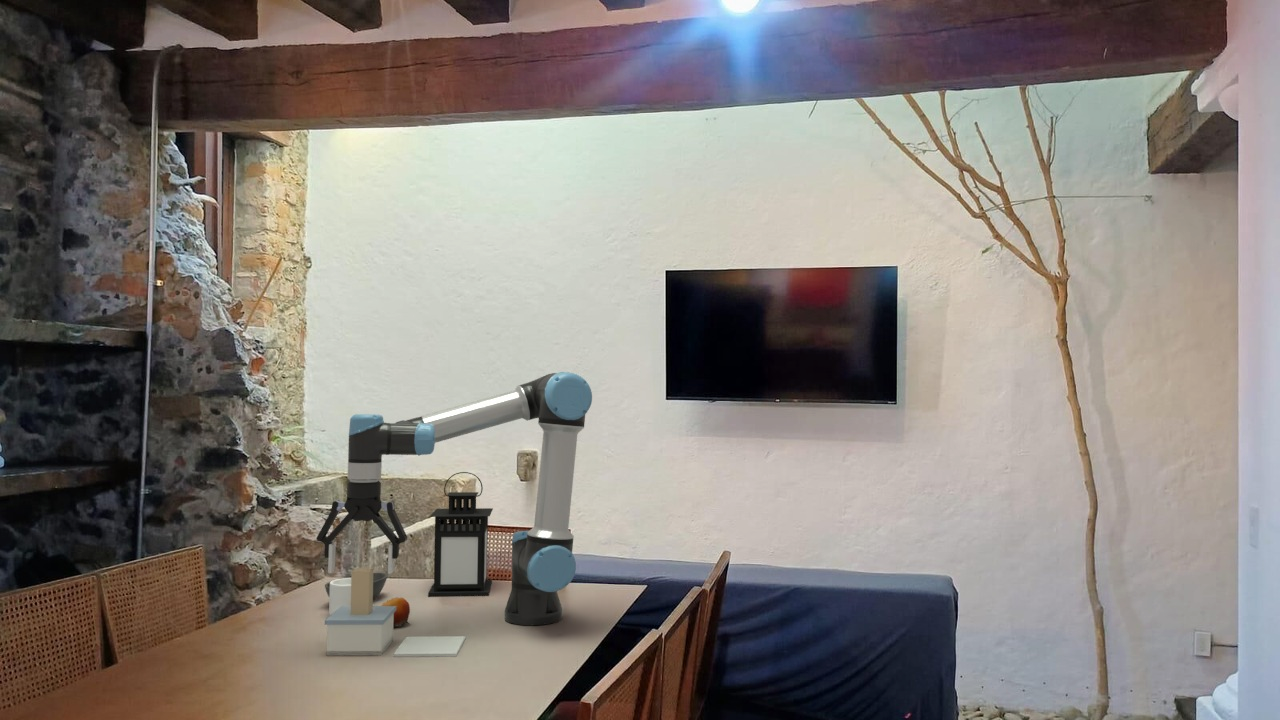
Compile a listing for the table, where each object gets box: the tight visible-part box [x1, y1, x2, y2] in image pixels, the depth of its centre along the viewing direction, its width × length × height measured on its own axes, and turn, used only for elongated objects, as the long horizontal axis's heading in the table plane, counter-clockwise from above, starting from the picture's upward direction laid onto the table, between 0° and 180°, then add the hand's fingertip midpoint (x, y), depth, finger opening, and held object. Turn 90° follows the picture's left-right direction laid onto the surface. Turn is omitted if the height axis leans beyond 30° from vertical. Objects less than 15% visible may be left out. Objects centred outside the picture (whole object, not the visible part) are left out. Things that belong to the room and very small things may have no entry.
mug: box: [328, 577, 351, 616], centre depth 232 cm, size 12×10×9 cm
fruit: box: [380, 596, 411, 628], centre depth 224 cm, size 8×8×8 cm
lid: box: [324, 567, 396, 626], centre depth 204 cm, size 13×13×11 cm
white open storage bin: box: [326, 613, 394, 657], centre depth 204 cm, size 12×12×7 cm
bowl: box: [324, 572, 389, 602], centre depth 248 cm, size 12×22×6 cm, turn 160°
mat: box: [393, 635, 467, 658], centre depth 204 cm, size 14×14×1 cm
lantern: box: [427, 471, 494, 598], centre depth 265 cm, size 17×17×35 cm
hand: (361, 572), depth 204 cm, fingers open, 13 cm apart
